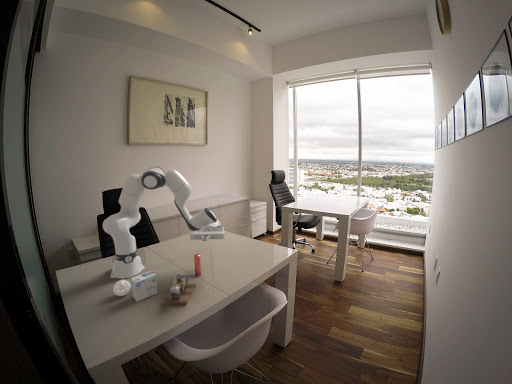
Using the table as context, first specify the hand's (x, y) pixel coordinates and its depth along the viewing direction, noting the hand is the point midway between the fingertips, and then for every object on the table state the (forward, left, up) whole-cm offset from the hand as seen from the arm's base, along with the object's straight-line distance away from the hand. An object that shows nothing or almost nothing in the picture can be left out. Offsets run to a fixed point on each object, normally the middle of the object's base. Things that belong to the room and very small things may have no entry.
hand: (204, 239), depth 128 cm
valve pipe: (+3, -17, -23) cm, 29 cm away
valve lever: (+7, -13, -16) cm, 22 cm away
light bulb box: (-9, -31, -25) cm, 41 cm away
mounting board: (+3, -17, -25) cm, 30 cm away
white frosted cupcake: (-17, -40, -25) cm, 50 cm away
